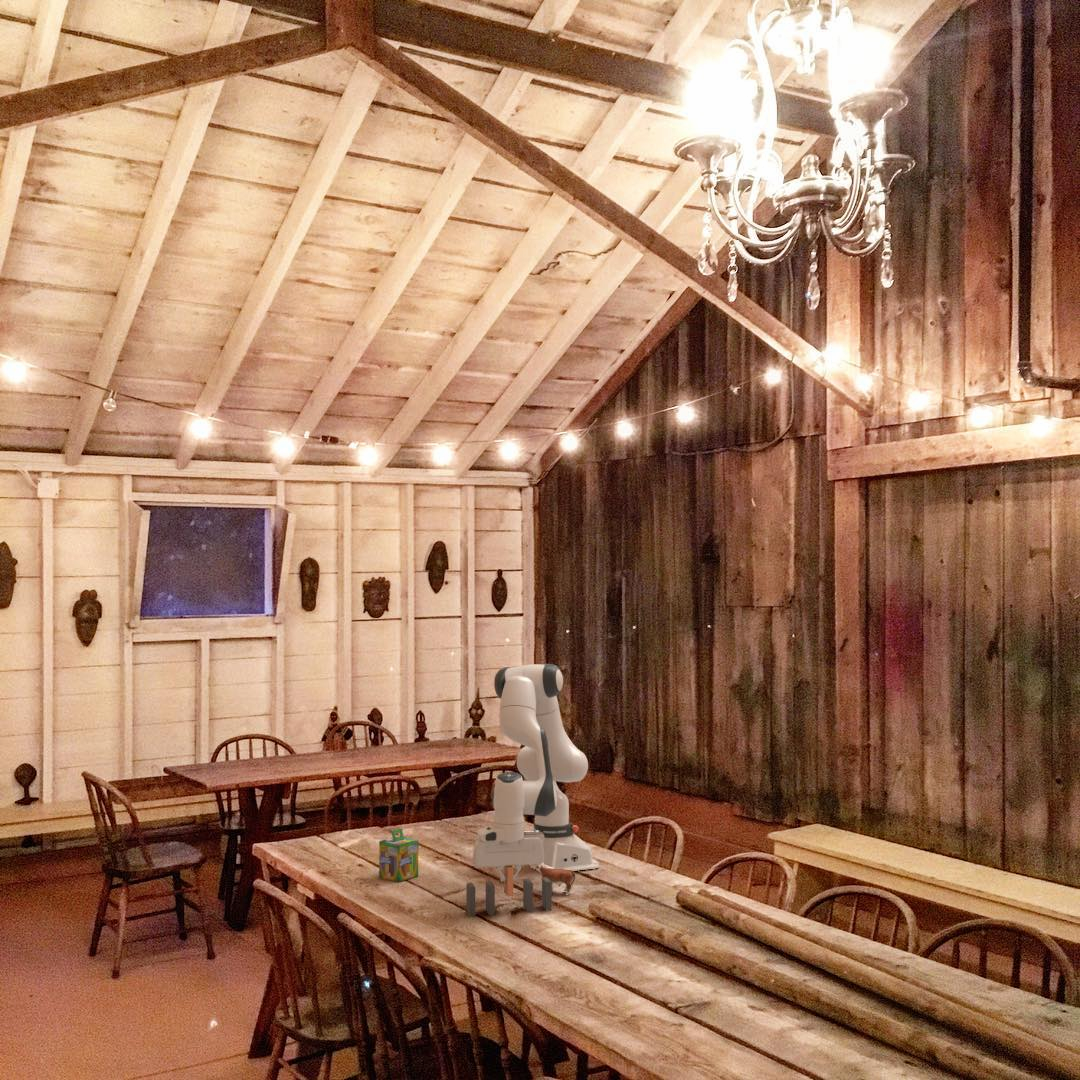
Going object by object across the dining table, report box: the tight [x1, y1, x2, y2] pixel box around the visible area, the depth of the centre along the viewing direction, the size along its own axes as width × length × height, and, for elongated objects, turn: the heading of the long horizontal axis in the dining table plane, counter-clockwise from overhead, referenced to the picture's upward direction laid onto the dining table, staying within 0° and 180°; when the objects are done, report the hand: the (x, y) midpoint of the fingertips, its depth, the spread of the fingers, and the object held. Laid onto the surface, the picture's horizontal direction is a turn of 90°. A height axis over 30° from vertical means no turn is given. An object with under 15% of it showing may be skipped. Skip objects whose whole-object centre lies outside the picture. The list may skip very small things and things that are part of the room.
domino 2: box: [484, 881, 496, 916], centre depth 305 cm, size 2×5×8 cm, turn 15°
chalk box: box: [378, 828, 420, 883], centre depth 342 cm, size 9×9×15 cm
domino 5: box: [541, 877, 553, 911], centre depth 309 cm, size 2×5×8 cm, turn 15°
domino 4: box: [522, 878, 534, 913], centre depth 308 cm, size 2×5×8 cm, turn 15°
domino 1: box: [465, 882, 476, 918], centre depth 304 cm, size 2×5×8 cm, turn 15°
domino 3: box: [503, 865, 514, 897], centre depth 307 cm, size 2×5×8 cm, turn 15°
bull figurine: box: [536, 862, 576, 895], centre depth 326 cm, size 4×13×8 cm, turn 59°
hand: (508, 881), depth 307 cm, fingers closed on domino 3, 2 cm apart
